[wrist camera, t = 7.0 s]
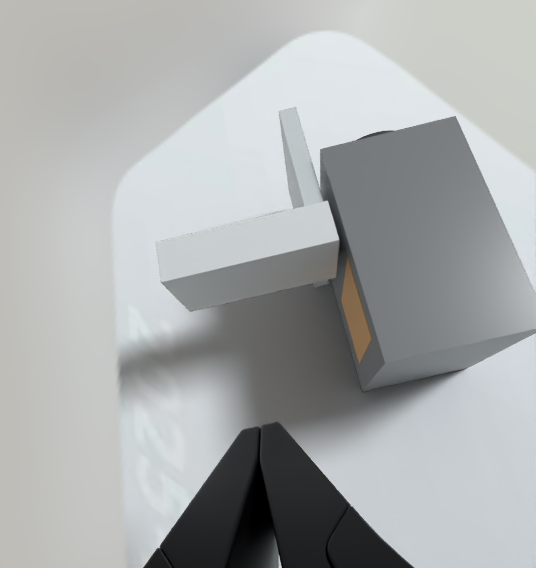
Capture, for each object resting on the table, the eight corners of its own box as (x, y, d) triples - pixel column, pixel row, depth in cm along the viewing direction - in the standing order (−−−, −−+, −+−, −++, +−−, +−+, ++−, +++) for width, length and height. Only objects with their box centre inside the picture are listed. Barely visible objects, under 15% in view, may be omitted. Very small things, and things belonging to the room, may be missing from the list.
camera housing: (467, 368, 21) (550, 325, 13) (361, 391, 21) (383, 363, 13) (406, 204, 24) (445, 95, 16) (315, 226, 24) (313, 127, 17)
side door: (333, 303, 21) (339, 239, 14) (210, 332, 21) (160, 282, 15) (302, 188, 23) (294, 87, 17) (191, 215, 23) (140, 126, 17)
